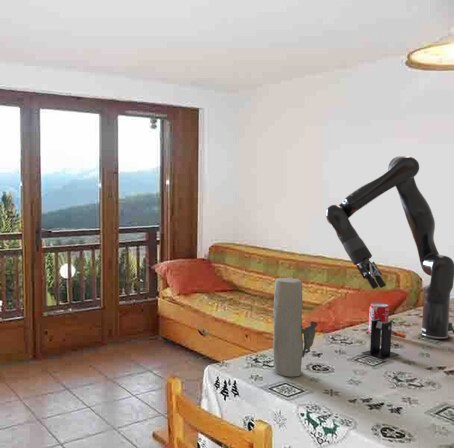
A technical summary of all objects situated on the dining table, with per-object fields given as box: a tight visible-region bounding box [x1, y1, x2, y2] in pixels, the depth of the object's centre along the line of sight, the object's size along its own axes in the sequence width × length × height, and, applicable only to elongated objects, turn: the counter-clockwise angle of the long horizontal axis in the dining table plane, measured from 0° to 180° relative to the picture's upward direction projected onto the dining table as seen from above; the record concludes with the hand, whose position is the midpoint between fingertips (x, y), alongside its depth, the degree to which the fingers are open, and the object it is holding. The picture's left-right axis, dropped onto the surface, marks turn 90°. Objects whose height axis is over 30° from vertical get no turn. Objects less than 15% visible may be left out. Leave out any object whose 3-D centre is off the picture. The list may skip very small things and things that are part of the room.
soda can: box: [367, 302, 390, 335], centre depth 200 cm, size 7×7×13 cm
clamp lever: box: [376, 321, 407, 339], centre depth 177 cm, size 12×7×2 cm, turn 124°
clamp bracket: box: [361, 319, 400, 361], centre depth 175 cm, size 10×8×13 cm
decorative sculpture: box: [272, 277, 318, 378], centre depth 158 cm, size 14×10×30 cm
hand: (379, 287), depth 188 cm, fingers open, 8 cm apart
